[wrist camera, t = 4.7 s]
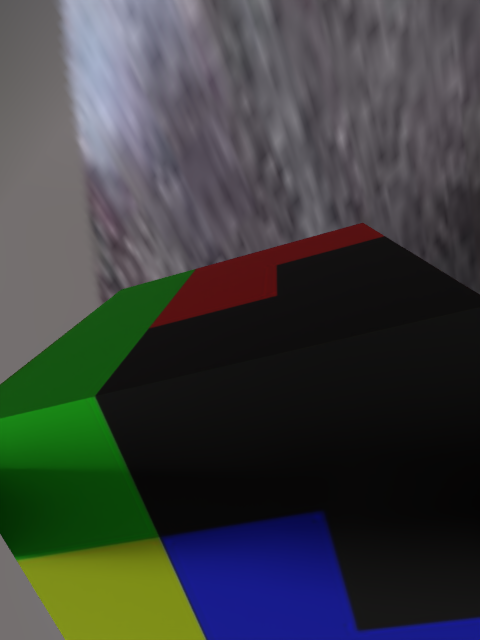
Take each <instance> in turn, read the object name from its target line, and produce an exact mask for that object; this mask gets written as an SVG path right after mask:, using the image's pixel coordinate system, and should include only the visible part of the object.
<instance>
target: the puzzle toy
mask: <svg viewBox="0 0 480 640" xmlns="http://www.w3.org/2000/svg"><path fill="white" fill-rule="evenodd" d="M0 534H1V536H2V537H3V539H4V541H5V542H6V544H7V545H8V547H9V549H10V550H11V552H12V554H13V555H14V557H15V559H16V560H17V562H18V563H19V565H20V567H21V568H22V570H23V572H24V573H25V575H26V576H27V578H28V580H29V581H30V583H31V584H32V586H33V588H34V589H35V591H36V593H37V594H38V596H39V598H40V599H41V601H42V603H43V604H44V606H45V607H46V609H47V611H48V612H49V614H50V615H51V617H52V619H53V621H54V622H55V624H56V625H57V627H58V629H59V630H60V632H61V634H62V635H63V637H64V638H65V640H480V295H479V294H478V293H476V292H475V291H473V290H471V289H470V288H468V287H466V286H465V285H463V284H462V283H460V282H458V281H457V280H455V279H453V278H452V277H450V276H449V275H447V274H445V273H444V272H442V271H440V270H439V269H437V268H436V267H434V266H432V265H431V264H429V263H427V262H426V261H424V260H423V259H421V258H419V257H418V256H416V255H414V254H413V253H411V252H410V251H408V250H406V249H405V248H403V247H401V246H400V245H398V244H397V243H395V242H393V241H392V240H390V239H388V238H387V237H385V236H384V235H382V234H380V233H379V232H377V231H375V230H374V229H372V228H371V227H369V226H367V225H366V224H364V223H360V224H356V225H353V226H349V227H346V228H342V229H338V230H335V231H331V232H328V233H324V234H320V235H317V236H313V237H310V238H306V239H302V240H299V241H295V242H292V243H288V244H284V245H281V246H277V247H273V248H270V249H266V250H263V251H259V252H255V253H252V254H248V255H245V256H241V257H237V258H234V259H230V260H227V261H223V262H219V263H216V264H212V265H209V266H205V267H201V268H198V269H194V270H191V271H187V272H183V273H180V274H176V275H172V276H169V277H165V278H162V279H158V280H154V281H151V282H147V283H144V284H140V285H136V286H133V287H129V288H126V289H122V290H120V291H119V292H118V293H116V294H115V295H114V296H113V297H111V298H110V299H109V300H107V301H106V302H105V303H104V304H102V305H101V306H100V307H99V308H97V309H96V310H95V311H93V312H92V313H91V314H90V315H88V316H87V317H86V318H85V319H83V320H82V321H81V322H79V324H77V325H76V326H74V327H73V328H72V329H71V330H69V331H68V332H67V333H65V334H64V335H63V336H62V337H60V338H59V339H58V340H56V341H55V342H54V343H53V344H51V345H50V346H49V347H48V348H46V349H45V350H44V351H42V352H41V353H40V354H39V355H37V356H36V357H35V358H34V359H32V360H31V361H30V362H28V363H27V364H26V365H25V366H23V367H22V368H21V369H19V370H18V371H17V372H16V373H14V374H13V375H12V376H10V377H9V378H8V379H7V380H5V381H4V382H3V383H1V384H0Z"/></svg>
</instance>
